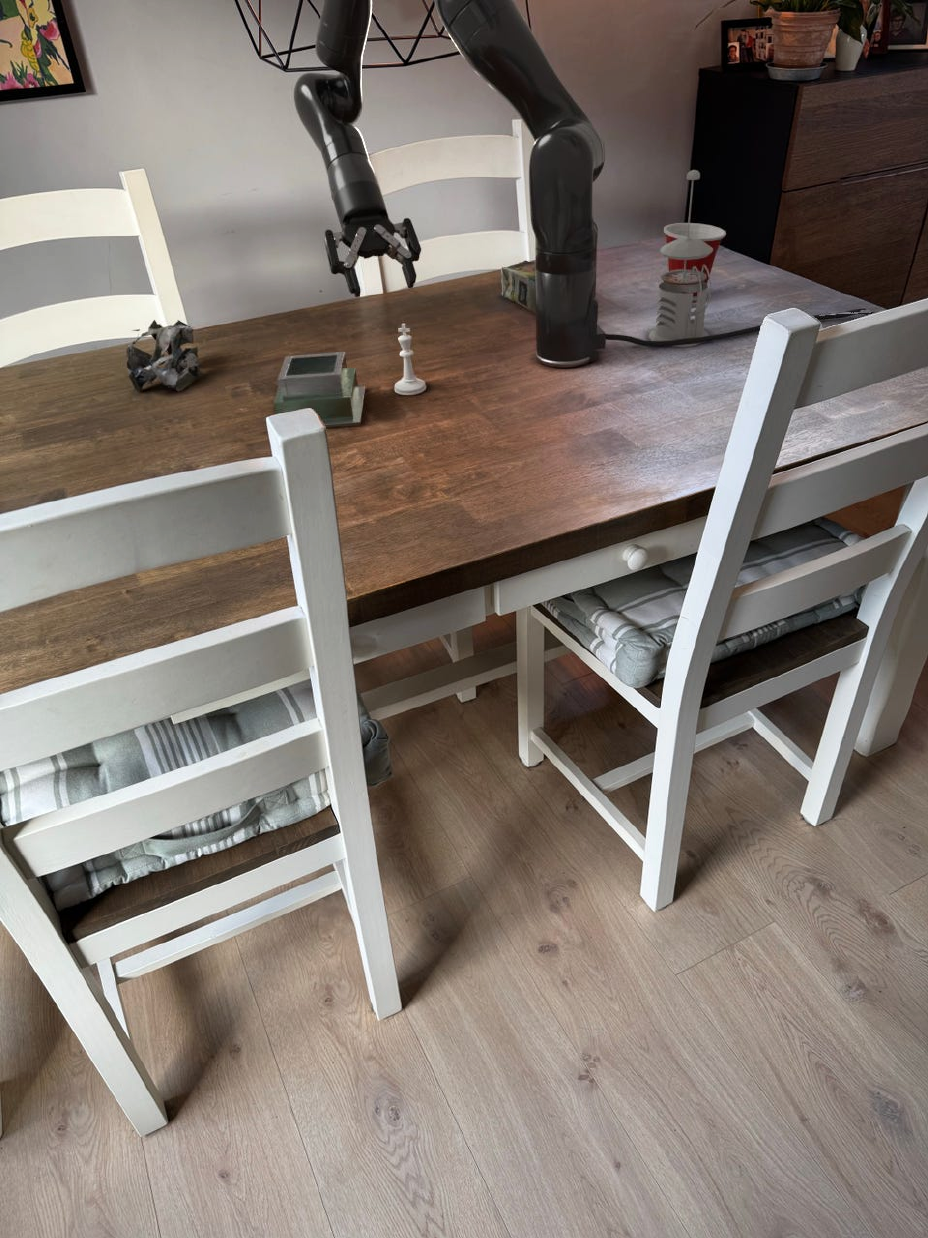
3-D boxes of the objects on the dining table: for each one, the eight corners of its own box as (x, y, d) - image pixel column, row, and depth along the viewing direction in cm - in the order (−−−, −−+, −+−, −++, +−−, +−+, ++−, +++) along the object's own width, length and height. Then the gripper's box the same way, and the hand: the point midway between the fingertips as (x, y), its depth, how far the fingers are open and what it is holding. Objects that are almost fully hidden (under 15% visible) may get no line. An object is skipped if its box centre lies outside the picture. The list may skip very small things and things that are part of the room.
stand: (365, 389, 133) (359, 345, 129) (360, 425, 123) (353, 378, 118) (282, 395, 133) (273, 351, 129) (270, 432, 123) (260, 385, 119)
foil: (99, 369, 138) (148, 295, 140) (147, 409, 147) (193, 339, 149) (140, 381, 131) (191, 303, 134) (188, 422, 140) (235, 348, 143)
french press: (689, 322, 147) (705, 160, 132) (726, 343, 139) (748, 173, 123) (638, 331, 145) (648, 168, 130) (672, 354, 136) (687, 182, 121)
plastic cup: (724, 305, 153) (733, 233, 146) (663, 308, 154) (669, 237, 146) (711, 286, 162) (719, 218, 154) (653, 289, 162) (658, 222, 155)
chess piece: (421, 395, 130) (415, 330, 124) (390, 394, 131) (382, 329, 125) (429, 382, 134) (423, 318, 127) (399, 382, 135) (391, 318, 128)
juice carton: (496, 294, 165) (495, 261, 162) (540, 285, 169) (540, 253, 165) (550, 325, 151) (551, 289, 147) (597, 314, 154) (599, 279, 150)
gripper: (312, 184, 128) (341, 284, 126) (403, 172, 131) (433, 268, 129) (311, 215, 135) (338, 310, 133) (397, 203, 138) (425, 294, 137)
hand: (385, 289), depth 131 cm, fingers open, 8 cm apart
